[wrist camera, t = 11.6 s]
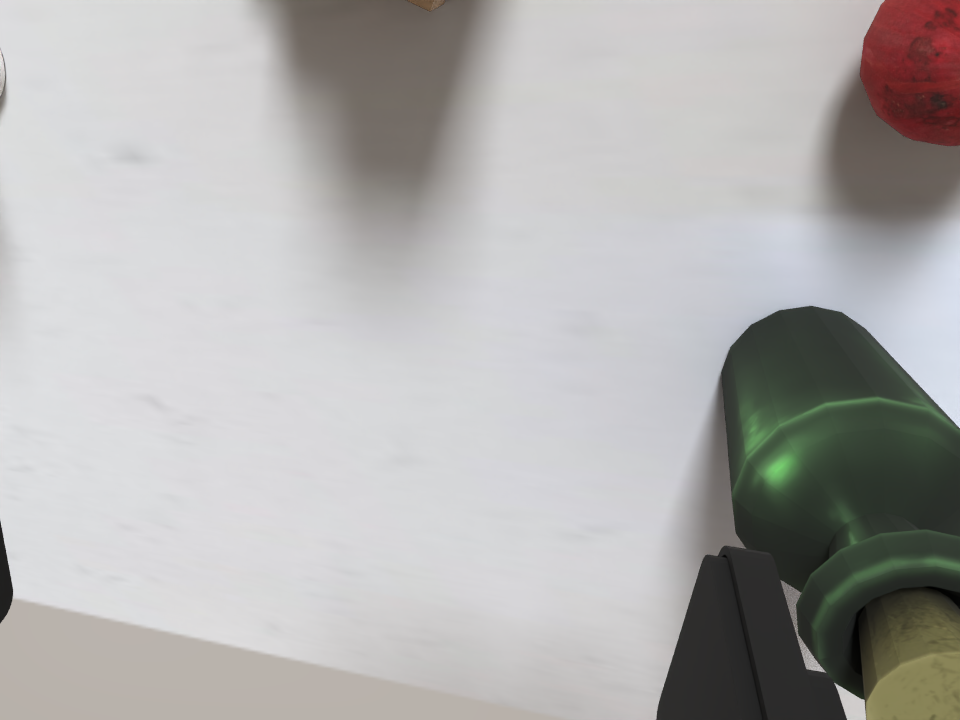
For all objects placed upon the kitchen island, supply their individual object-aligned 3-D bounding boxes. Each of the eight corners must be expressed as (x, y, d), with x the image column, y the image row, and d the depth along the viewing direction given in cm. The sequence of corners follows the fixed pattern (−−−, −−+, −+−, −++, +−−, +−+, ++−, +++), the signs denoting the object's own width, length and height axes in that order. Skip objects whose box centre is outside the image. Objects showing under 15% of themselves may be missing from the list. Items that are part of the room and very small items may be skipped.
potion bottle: (677, 321, 37) (738, 627, 21) (873, 258, 34) (1108, 547, 19) (731, 470, 40) (820, 834, 24) (915, 420, 38) (1146, 788, 22)
